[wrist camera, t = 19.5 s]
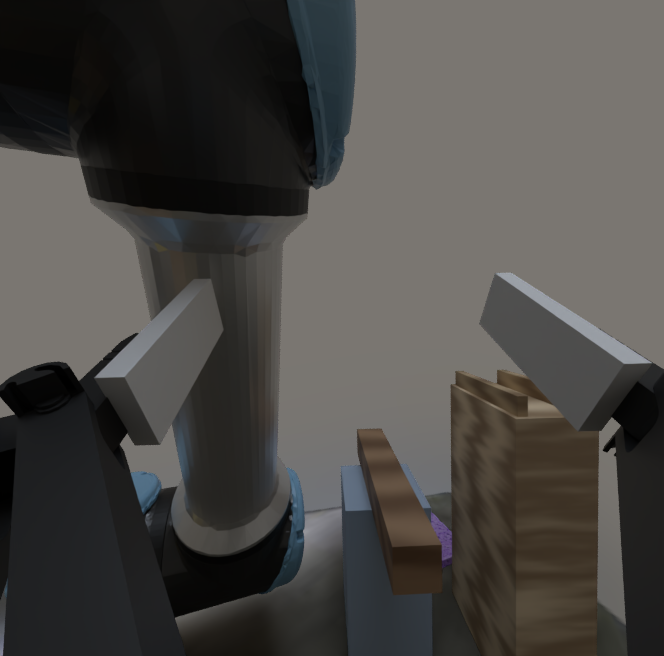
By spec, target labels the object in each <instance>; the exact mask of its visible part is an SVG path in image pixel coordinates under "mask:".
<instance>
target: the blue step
mask: <svg viewBox="0 0 664 656" xmlns="http://www.w3.org/2000/svg"><path fill="white" fill-rule="evenodd" d="M400 465H401V467H402V469H403V471H404V473H405V475H406V477H407V479H408V481H409V483H410V485H411V487H412V489H413V490H414V492H415V494H416V496H417V498H418V500H419V502H420V504H421V506H422V508H423V510H424V512H425V513H426V515H427V517H428V519H429V521H430V523H431V507H430V505H429V503H428V502H427V500H426V498H425V496H424V494H423V493H422V491H421V489H420V487H419V486H418V484H417V482H416V480H415V478H414V476H413V475H412V473H411V471H410V469H409V467H408V466H407V464H400ZM341 485H342V486H341V488H342V489H341V490H342V536H343V582H344V599H345V614H346V629H347V644H348V656H433V646H432V593H429V594H409V595H393V593H392V589H391V585H390V581H389V577H388V573H387V569H386V565H385V561H384V557H383V553H382V549H381V545H380V541H379V537H378V533H377V529H376V525H375V521H374V517H373V513H372V509H371V505H370V501H369V497H368V493H367V489H366V485H365V481H364V477H363V473H362V469H361V465H359V466H341Z"/></svg>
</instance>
